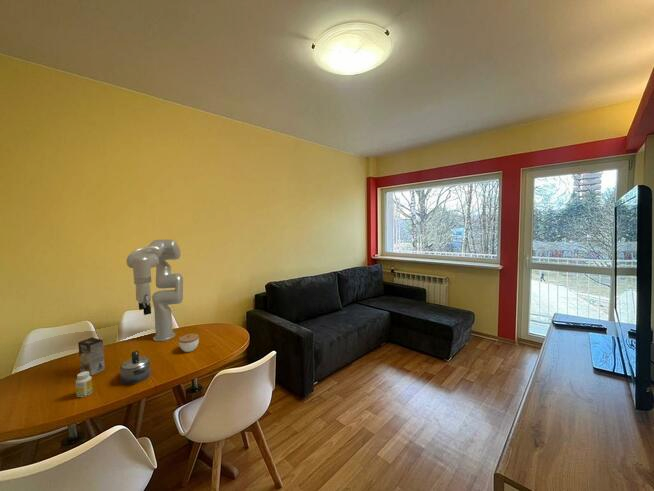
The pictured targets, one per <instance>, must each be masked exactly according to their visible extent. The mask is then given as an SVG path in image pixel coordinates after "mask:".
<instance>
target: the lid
mask: <svg viewBox="0 0 654 491" xmlns="http://www.w3.org/2000/svg"><path fill="white" fill-rule="evenodd" d="M139 354H140V353H139V351H138V350H134V351H131V358H129V359H127V360H125V361H124V362H123V363H121V365H122V369H126V370H130V369H135V368H139V367H141V366H144V365H145V364H147V363H148V362H149V359H150V358H149V357H148V356H140V355H139Z"/></svg>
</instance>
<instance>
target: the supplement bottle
mask: <svg viewBox="0 0 654 491" xmlns="http://www.w3.org/2000/svg"><path fill="white" fill-rule="evenodd" d="M76 378H77V379H76V380H75V395H76V397H77V398H78V397H81V398H85V397H87V395H88V396H90V395H91V394H93V378H92V375H90V374H89V371H85V372H81V371H80V373H78V374H77V375H76ZM84 396H85V397H84Z"/></svg>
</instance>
